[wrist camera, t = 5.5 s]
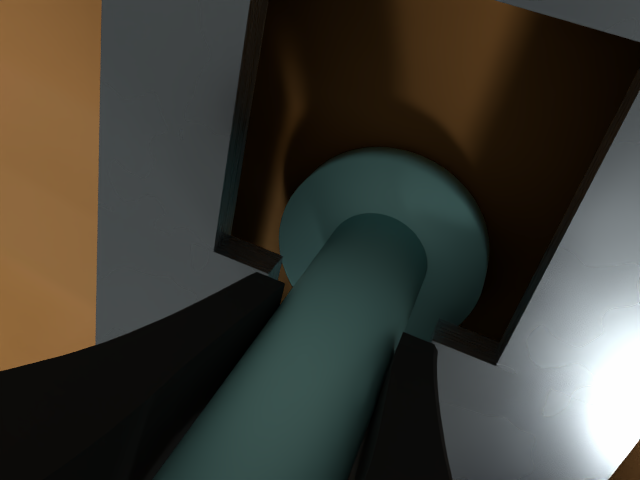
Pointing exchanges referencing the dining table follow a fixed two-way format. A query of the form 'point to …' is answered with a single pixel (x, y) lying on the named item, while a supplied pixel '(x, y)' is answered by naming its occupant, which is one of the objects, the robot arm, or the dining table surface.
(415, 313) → the peg
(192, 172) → the keyhole plate
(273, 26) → the dining table surface
